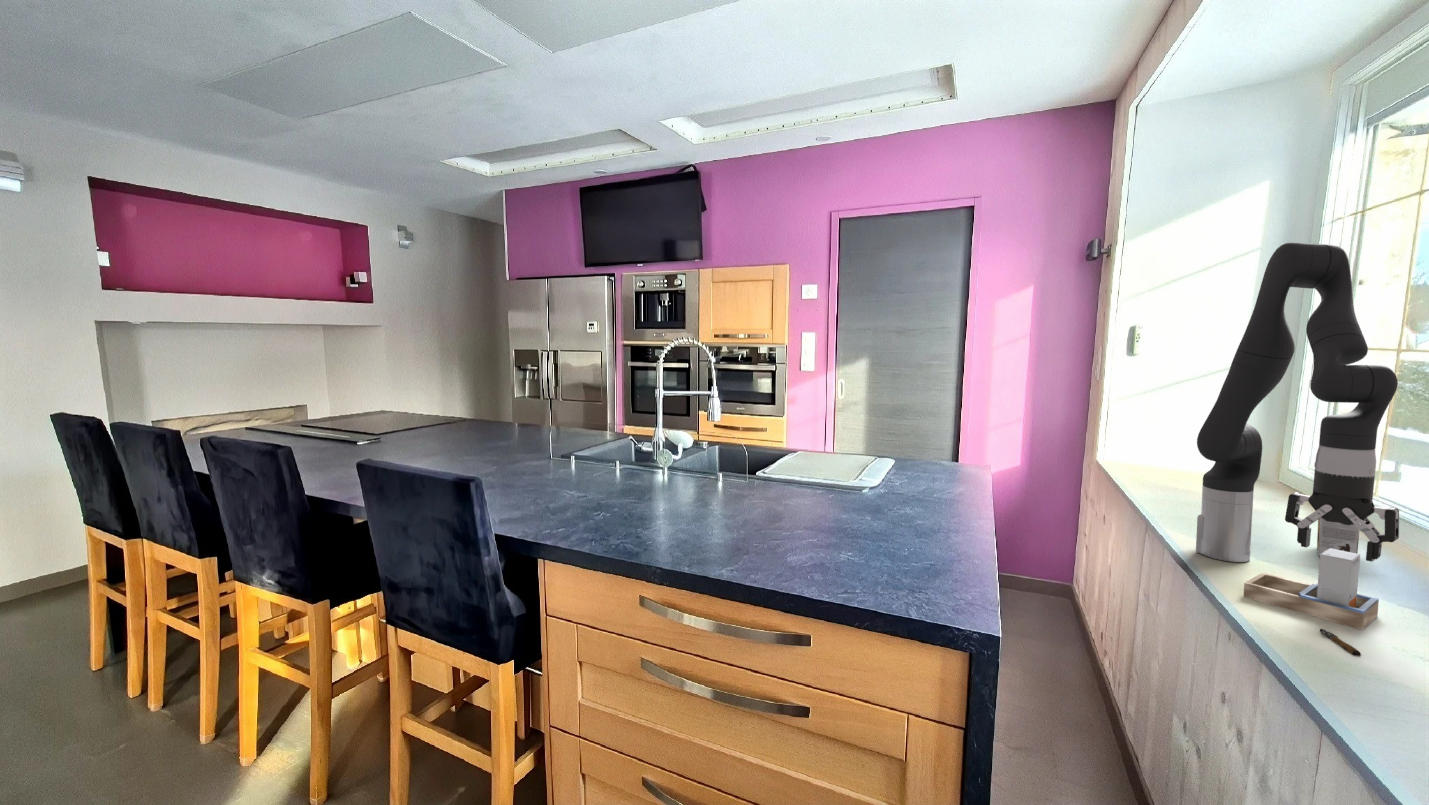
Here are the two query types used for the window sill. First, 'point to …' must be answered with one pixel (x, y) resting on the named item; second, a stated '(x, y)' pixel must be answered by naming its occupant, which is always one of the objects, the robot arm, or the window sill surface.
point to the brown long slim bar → (1341, 643)
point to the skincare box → (1338, 577)
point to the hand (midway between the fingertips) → (1336, 553)
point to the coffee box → (1337, 537)
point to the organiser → (1310, 600)
